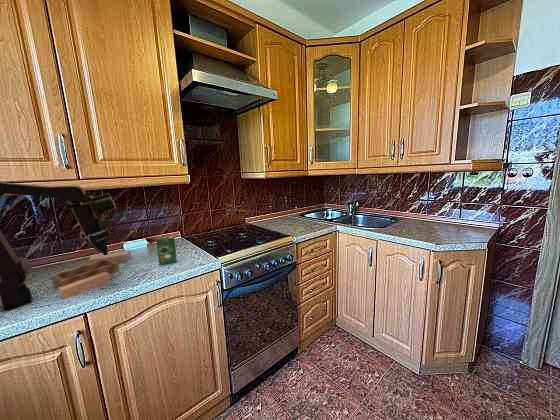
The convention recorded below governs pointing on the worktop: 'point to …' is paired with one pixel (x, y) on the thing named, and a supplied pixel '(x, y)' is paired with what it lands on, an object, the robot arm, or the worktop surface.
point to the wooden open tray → (84, 272)
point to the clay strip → (84, 285)
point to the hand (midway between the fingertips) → (103, 253)
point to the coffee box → (166, 250)
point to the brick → (112, 257)
